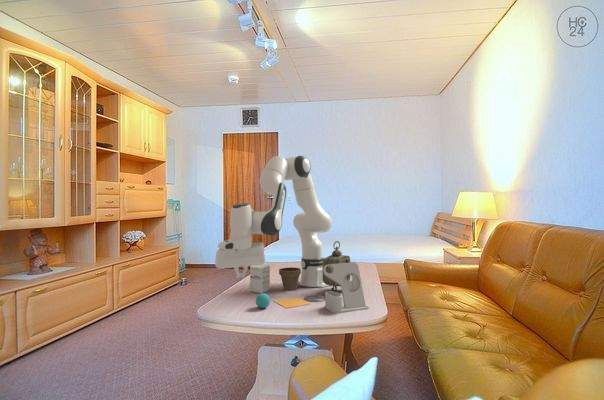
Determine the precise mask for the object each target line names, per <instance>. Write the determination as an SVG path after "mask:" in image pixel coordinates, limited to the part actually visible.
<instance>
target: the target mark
mask: <svg viewBox="0 0 604 400" xmlns="http://www.w3.org/2000/svg"><path fill="white" fill-rule="evenodd" d="M273 302H274V303H276V304H278V305H280V306H281V307H283V308H285V309H291V308H297V307H303V306H308V305H311V302H310V301H306V300H305V299H302V298H301V297H298V296H296V297H290V298H284V299H277V300H273Z"/></svg>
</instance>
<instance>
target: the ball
mask: <svg viewBox="0 0 604 400" xmlns="http://www.w3.org/2000/svg"><path fill="white" fill-rule="evenodd" d="M270 303H271V298H270V296H269V295H268V294H267V293H266V292H264V293H259V294H258V295H257V296H256V297H255V304H256V306H257V307H258V308H260V309H265V308H267V307H268V306H269V305H270Z"/></svg>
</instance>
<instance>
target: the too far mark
mask: <svg viewBox="0 0 604 400" xmlns="http://www.w3.org/2000/svg"><path fill="white" fill-rule="evenodd" d="M303 300H305V301H307V302H310V303H311V302H312V303H313V302H314V303H316V302H323V301H324V302H325V296H323V295H320V294H319V295H317V294H314V295H313V294H311V295H306V296H304V297H303Z"/></svg>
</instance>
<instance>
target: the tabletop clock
mask: <svg viewBox="0 0 604 400" xmlns="http://www.w3.org/2000/svg"><path fill="white" fill-rule="evenodd" d="M336 243H338V244H339V245H338V246H336V247H335V245H336ZM340 247H341V243H340V241H338V240H336V241H334V243H333V249H334V250H333V251H332V253H331V254H330V255H328V256H326V257H323V258H324V259H323V268H324V266H325V265H328V264H338V263H351V258H350V256H349V255H343V253H342V251H341V250H340ZM323 268H322V273H323ZM326 272H327V273H330V272H331V268H330V267H326ZM346 278H347V280H348V281H351V275H348V276H347V277H346ZM323 282H324V283H325V284H326V285H330V286H332V287H331V289H330V291H334V292H336V293H338V294H339V291H338V287H340V288H341V286H340V285H339V284H338V283H336V282H335V281H333V280H331V279H330V278H328V277H327V276H325V275H324V273H323Z"/></svg>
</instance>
